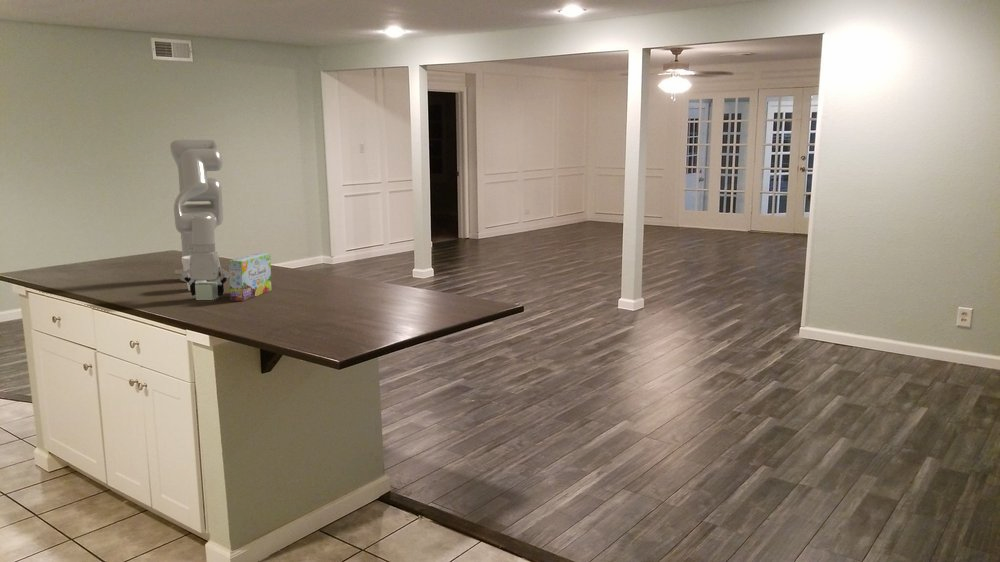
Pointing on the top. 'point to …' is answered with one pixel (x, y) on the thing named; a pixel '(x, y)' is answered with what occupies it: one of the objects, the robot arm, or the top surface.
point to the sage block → (206, 291)
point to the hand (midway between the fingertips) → (207, 294)
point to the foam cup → (187, 266)
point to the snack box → (249, 276)
